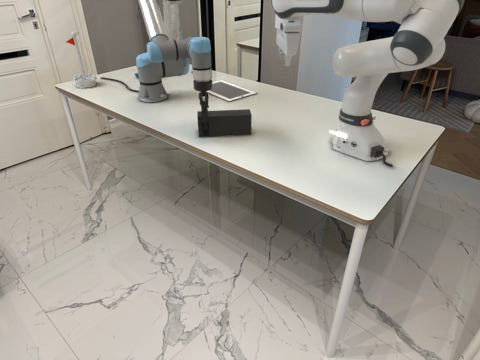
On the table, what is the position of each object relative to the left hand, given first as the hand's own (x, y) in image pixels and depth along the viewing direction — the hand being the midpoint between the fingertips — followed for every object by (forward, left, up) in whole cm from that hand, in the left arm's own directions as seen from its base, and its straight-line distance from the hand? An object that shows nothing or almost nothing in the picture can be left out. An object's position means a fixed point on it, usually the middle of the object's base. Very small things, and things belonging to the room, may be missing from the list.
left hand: (205, 128), depth 146 cm
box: (+4, +7, -2) cm, 9 cm away
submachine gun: (-99, +24, -2) cm, 102 cm away
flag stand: (-101, -23, -2) cm, 104 cm away
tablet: (-43, +39, -2) cm, 58 cm away
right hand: (+21, +25, +29) cm, 43 cm away
